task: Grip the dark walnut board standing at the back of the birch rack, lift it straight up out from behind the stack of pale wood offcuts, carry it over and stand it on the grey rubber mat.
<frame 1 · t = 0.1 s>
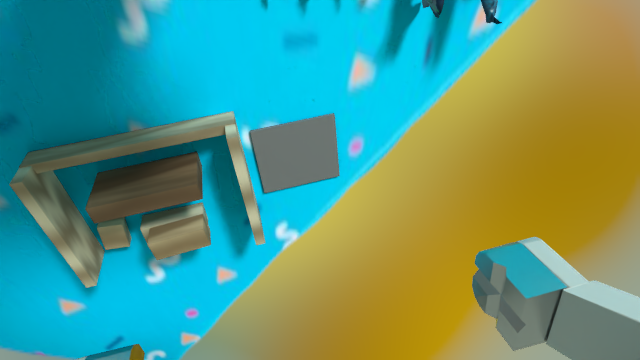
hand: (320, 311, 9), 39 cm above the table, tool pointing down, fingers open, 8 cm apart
mat: (297, 154, 54), on the table
rack: (159, 187, 51), on the table
offcut b: (180, 228, 53), point 3 cm above the table
offcut c: (116, 227, 54), on the table
walnut board: (151, 168, 50), on the table
offcut a: (176, 215, 55), on the table
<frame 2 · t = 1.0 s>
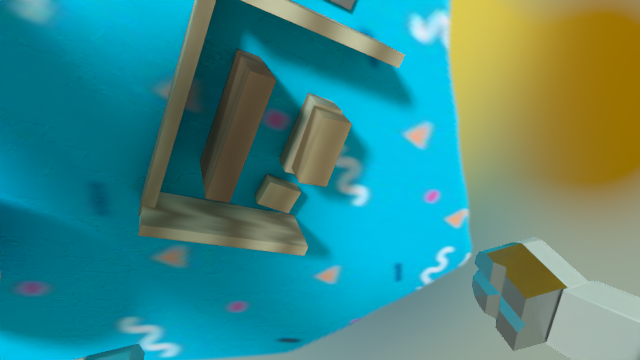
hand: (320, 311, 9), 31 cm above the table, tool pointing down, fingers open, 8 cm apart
rack: (257, 119, 40), on the table
offcut b: (315, 140, 40), point 3 cm above the table
offcut c: (275, 188, 45), on the table
walnut board: (228, 111, 39), on the table
offcut a: (304, 130, 43), on the table
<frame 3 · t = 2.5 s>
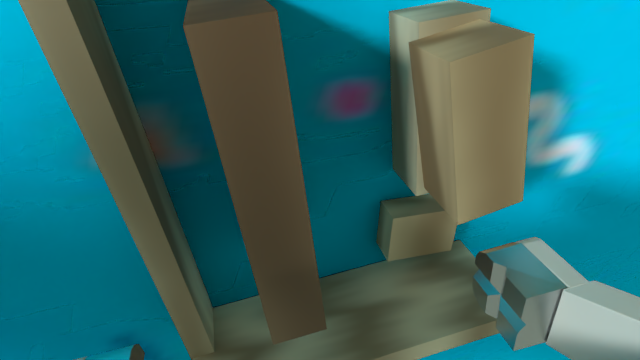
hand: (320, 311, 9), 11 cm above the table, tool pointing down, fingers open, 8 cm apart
rack: (314, 118, 19), on the table
offcut b: (449, 112, 17), point 3 cm above the table, touching offcut a
offcut c: (408, 214, 24), on the table
walnut board: (251, 130, 18), on the table
offcut a: (417, 91, 20), on the table, touching offcut b
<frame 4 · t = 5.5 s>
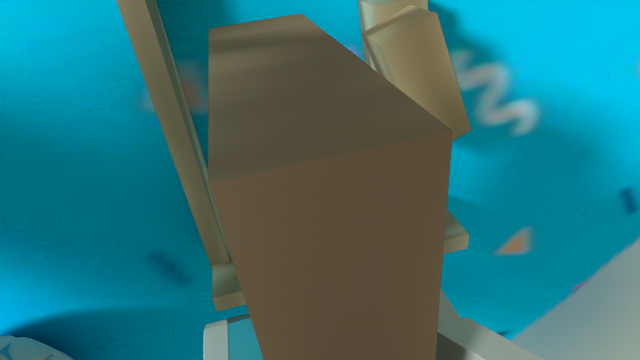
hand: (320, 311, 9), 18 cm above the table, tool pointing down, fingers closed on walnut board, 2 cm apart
rack: (306, 78, 25), on the table
offcut b: (406, 75, 23), point 3 cm above the table
puzzle ball: (20, 358, 31), on the table
walnut board: (293, 221, 12), point 14 cm above the table, touching gripper
offcut a: (386, 60, 25), on the table
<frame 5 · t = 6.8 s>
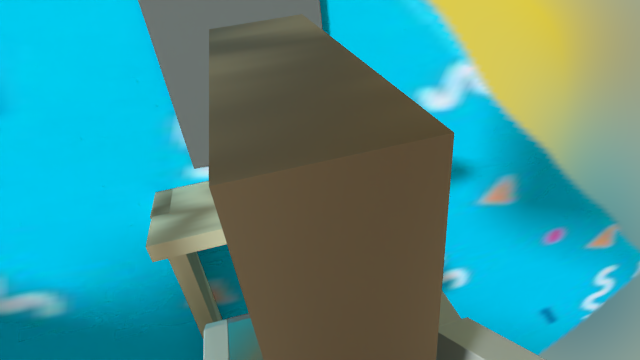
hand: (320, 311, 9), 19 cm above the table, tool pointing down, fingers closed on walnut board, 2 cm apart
mat: (249, 75, 25), on the table
rack: (297, 277, 35), on the table
walnut board: (293, 221, 12), point 16 cm above the table, touching gripper
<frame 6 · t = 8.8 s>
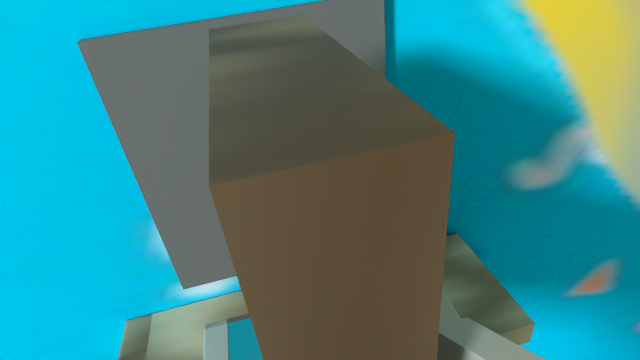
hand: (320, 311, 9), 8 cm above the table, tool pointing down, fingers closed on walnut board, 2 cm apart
mat: (268, 157, 16), on the table
walnut board: (293, 221, 12), point 4 cm above the table, touching gripper
when the fingers open (5 cm above the table, at t = 9.7 s): walnut board stays where it is, resting on mat.
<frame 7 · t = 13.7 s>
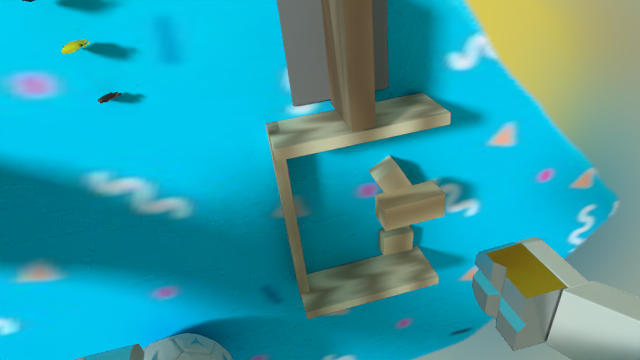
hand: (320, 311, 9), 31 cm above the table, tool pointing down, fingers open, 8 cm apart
mat: (336, 40, 37), on the table
rack: (353, 197, 47), on the table
offcut b: (404, 198, 46), point 3 cm above the table, touching offcut a
offcut c: (392, 234, 52), on the table
puzzle ball: (182, 346, 54), on the table
walnut board: (336, 41, 37), resting on mat
offcut a: (393, 183, 48), on the table, touching offcut b
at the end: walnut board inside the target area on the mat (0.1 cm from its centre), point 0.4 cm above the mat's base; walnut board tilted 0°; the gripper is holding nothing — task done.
